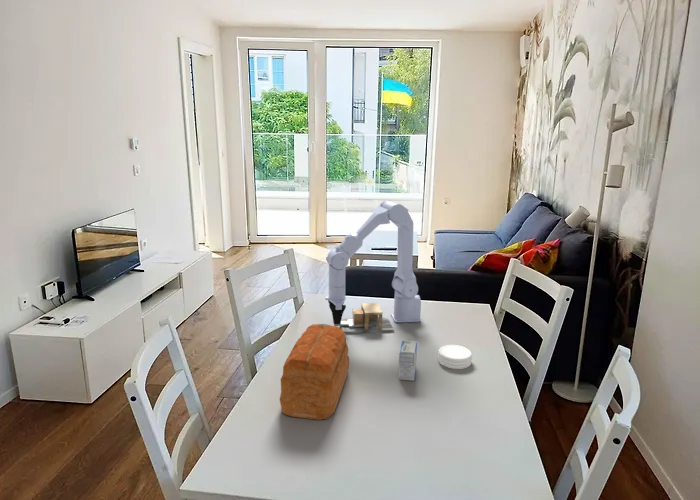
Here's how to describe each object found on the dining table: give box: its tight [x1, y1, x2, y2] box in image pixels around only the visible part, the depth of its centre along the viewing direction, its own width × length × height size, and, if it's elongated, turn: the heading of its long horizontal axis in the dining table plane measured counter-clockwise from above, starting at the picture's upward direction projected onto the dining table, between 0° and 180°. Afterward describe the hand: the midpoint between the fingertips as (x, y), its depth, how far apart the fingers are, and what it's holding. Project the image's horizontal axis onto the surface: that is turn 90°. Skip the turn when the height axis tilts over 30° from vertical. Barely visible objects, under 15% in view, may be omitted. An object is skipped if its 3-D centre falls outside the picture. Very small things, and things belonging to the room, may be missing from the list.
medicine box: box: [398, 339, 418, 382], centre depth 138 cm, size 8×4×9 cm, turn 168°
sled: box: [332, 308, 372, 327], centre depth 169 cm, size 13×6×5 cm, turn 97°
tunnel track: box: [339, 302, 395, 335], centre depth 170 cm, size 18×11×7 cm, turn 97°
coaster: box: [437, 344, 473, 370], centre depth 146 cm, size 10×10×4 cm
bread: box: [279, 323, 350, 421], centre depth 128 cm, size 14×27×15 cm, turn 170°
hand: (336, 321), depth 169 cm, fingers closed on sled, 3 cm apart
